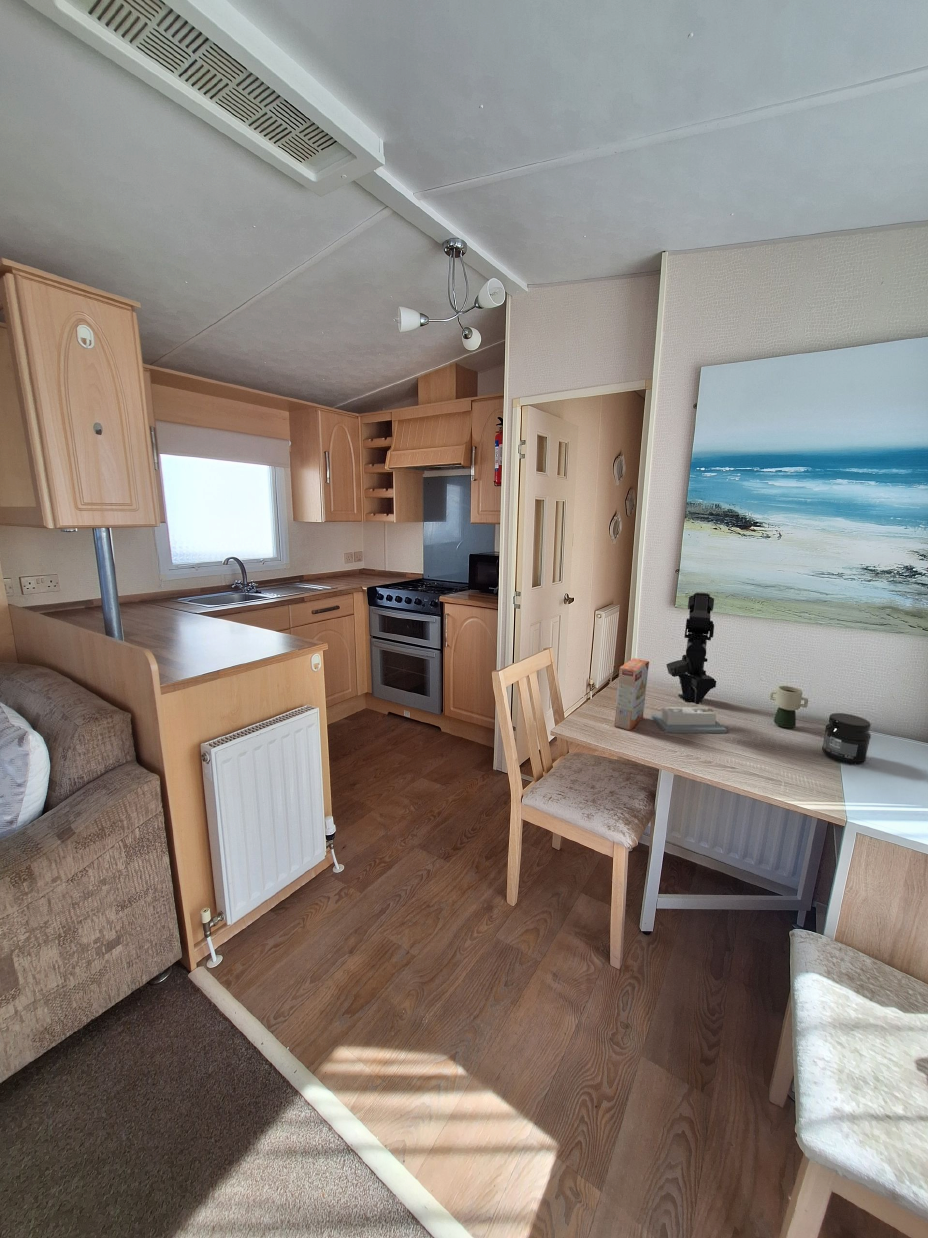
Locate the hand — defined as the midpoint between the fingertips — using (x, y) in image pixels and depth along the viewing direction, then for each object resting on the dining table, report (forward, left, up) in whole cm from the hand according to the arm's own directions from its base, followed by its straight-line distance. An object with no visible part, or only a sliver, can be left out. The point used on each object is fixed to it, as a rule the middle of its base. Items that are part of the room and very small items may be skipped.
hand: (690, 698), depth 163 cm
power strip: (0, 0, -8) cm, 8 cm away
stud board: (0, 0, -9) cm, 9 cm away
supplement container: (+22, +36, -10) cm, 43 cm away
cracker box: (-2, -19, -10) cm, 21 cm away
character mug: (0, +33, -10) cm, 34 cm away
